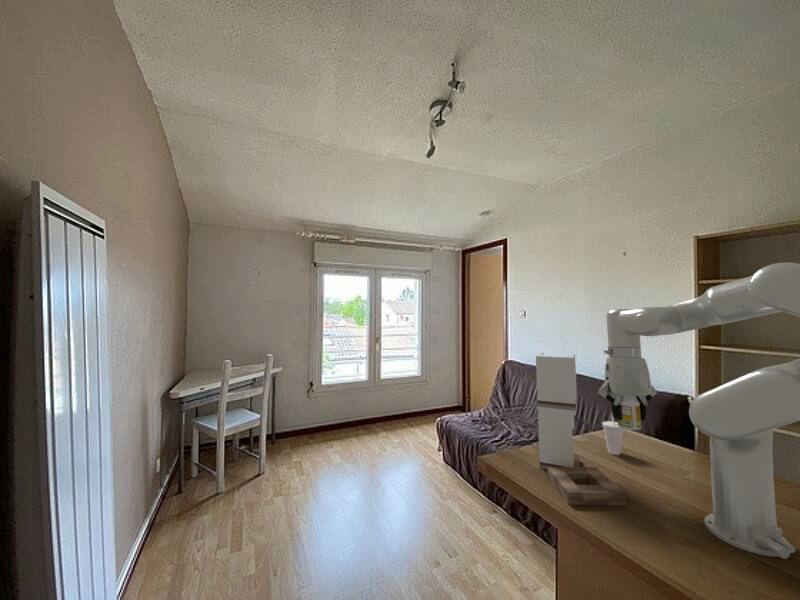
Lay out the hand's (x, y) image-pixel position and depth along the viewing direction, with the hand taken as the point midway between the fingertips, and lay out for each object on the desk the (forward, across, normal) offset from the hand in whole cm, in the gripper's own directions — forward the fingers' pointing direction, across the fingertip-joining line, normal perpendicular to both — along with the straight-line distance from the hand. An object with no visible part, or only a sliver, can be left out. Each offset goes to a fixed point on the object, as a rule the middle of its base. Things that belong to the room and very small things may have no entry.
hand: (628, 418), depth 92 cm
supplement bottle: (+3, 0, 0) cm, 3 cm away
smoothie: (+19, +8, +24) cm, 32 cm away
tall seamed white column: (+19, -14, +14) cm, 28 cm away
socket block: (+19, -14, -1) cm, 23 cm away
